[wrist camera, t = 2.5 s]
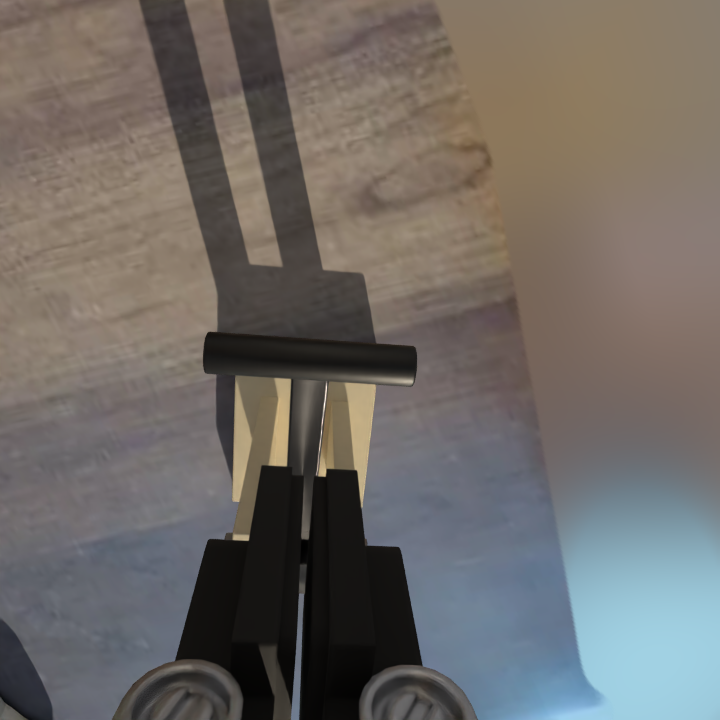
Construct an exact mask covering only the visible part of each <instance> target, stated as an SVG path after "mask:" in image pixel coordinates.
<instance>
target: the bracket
mask: <svg viewBox="0 0 720 720" xmlns="http://www.w3.org/2000/svg"><path fill="white" fill-rule="evenodd" d="M290 390H291V379H282V378H267V377H251V376H236V375H235V406H234V444H233V483H232V501H239V505H238V510H237V515H236V520H235V525H234V529H233V533H226V536H225V540H244V541H249V535H250V529H251V523H252V518H253V512H254V506H255V500H256V494H257V488H258V482H259V477H260V471H261V466H262V465H270V466H287V453H288V432H289V411H290ZM375 392H376V385H375V384H359V383H344V382H329V386H328V395H327V404H326V412H325V421H324V430H323V439H322V448H321V456H320V465H319V474H318V476H323V477H325V476H326V469H346V470H357V472H358V480H359V490H360V499H361V507H362V505H363V497H364V488H365V479H366V470H367V462H368V453H369V444H370V435H371V427H372V418H373V409H374V400H375ZM365 546H367V540H366V539H365Z"/></svg>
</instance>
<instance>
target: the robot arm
mask: <svg viewBox="0 0 720 720" xmlns="http://www.w3.org/2000/svg"><path fill="white" fill-rule="evenodd" d="M303 490H304V476H303V475H292V467H289V466H270V465H262V466H261V471H260V477H259V482H258V488H257V494H256V500H255V506H254V512H253V518H252V523H251V529H250V535H249V541H244V540H220V539H209V540H208V542H207V545H206V548H205V551H204V555H203V559H202V563H201V566H200V570H199V574H198V577H197V581H196V585H195V589H194V592H193V596H192V600H191V603H190V607H189V611H188V615H187V618H186V622H185V626H184V630H183V633H182V637H181V641H180V644H179V648H178V652H177V656H176V659H175V661H174V662H169V663H165V664H163V665H161V666H159V667H157V668H155V669H153V670H151V671H148V672H147V673H146V674H145V675H144V676H142V677H141V678H140V679H139V680H137V681H136V682H135V683H134V684H133V685H132V687H131V688H130V689H129V691H128V692H127V693H126V695H125V696H124V698H123V699H122V701H121V703H120V705H119V707H118V709H117V711H116V713H115V715H114V716H113V718H112V720H291V709H292V696H293V682H294V669H295V656H296V640H297V621H298V599H299V578H300V556H301V534H302V512H303ZM299 720H478V719H477V717H476V714H475V712H474V709H473V707H472V705H471V703H470V702H469V700H468V698H467V697H466V695H465V693H464V692H463V690H462V689H461V688H459V687H458V686H457V685H456V684H455V683H454V682H453V681H452V680H451V679H450V678H448V677H446V676H445V675H443V674H441V673H439V672H437V671H436V670H433V669H430V668H426V667H423V666H422V660H421V655H420V650H419V644H418V639H417V634H416V628H415V623H414V618H413V612H412V607H411V601H410V596H409V591H408V585H407V580H406V575H405V569H404V564H403V559H402V554H401V550H400V548H399V547H387V546H365V537H364V528H363V518H362V509H361V499H360V490H359V480H358V472H357V470H346V469H326V476H325V477H323V476H314V480H313V493H312V505H311V518H310V530H309V543H308V556H307V568H306V581H305V593H304V608H303V630H302V658H301V687H300V715H299Z"/></svg>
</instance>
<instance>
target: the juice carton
mask: <svg viewBox="0 0 720 720" xmlns="http://www.w3.org/2000/svg"><path fill="white" fill-rule="evenodd" d="M0 720H28V719H26V718H25V717H23V716H22V715H21V714H19V713H18V712H17V711H16V710H14V709H13V708H12V707H10V706H8V705H7V704H6V703H4V702H3V700H2V698H1V697H0Z"/></svg>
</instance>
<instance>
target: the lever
mask: <svg viewBox="0 0 720 720" xmlns="http://www.w3.org/2000/svg"><path fill="white" fill-rule="evenodd" d="M203 367H204V371H205V373H207V374H220V375H236V376H251V377H267V378H282V379H291V390H290V411H289V432H288V453H287V466H289V467H292V475H303V476H304V490H303V512H302V534H301V556H300V578H299V593H303V594H304V593H305V581H306V568H307V556H308V543H309V530H310V518H311V505H312V493H313V480H314V476H318V474H319V465H320V456H321V448H322V439H323V430H324V421H325V412H326V404H327V395H328V386H329V382H344V383H359V384H375V385H390V386H406V387H411V386H413V384H414V382H415V377H416V371H417V352H416V348H415V347H414V346H405V345H391V344H377V343H363V342H348V341H334V340H320V339H306V338H292V337H278V336H263V335H249V334H235V333H221V332H208V333H207V335H206V338H205V342H204V351H203Z"/></svg>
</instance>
